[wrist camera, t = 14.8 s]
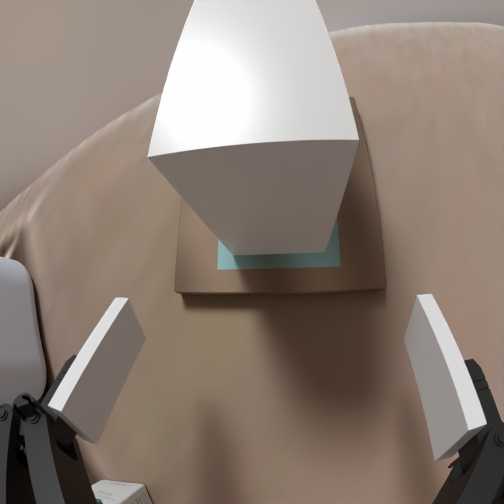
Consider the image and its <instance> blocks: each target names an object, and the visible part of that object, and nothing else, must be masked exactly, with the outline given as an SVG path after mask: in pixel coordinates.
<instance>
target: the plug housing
mask: <svg viewBox="0 0 504 504" xmlns="http://www.w3.org/2000/svg"><path fill="white" fill-rule="evenodd" d="M358 142H359V137H358V133H357V128H356V124H355V120H354V116H353V112H352V108H351V104H350V100H349V97H348V93H347V90H346V86H345V83H344V79H343V76H342V73H341V69H340V66H339V63H338V60H337V57H336V54H335V51H334V48H333V45H332V42H331V39H330V37H329V34H328V31H327V29H326V26H325V23H324V20H323V18H322V15H321V13H320V10H319V8H318V5H317V3H316V1H315V0H194V3H193V5H192V8H191V10H190V13H189V15H188V18H187V20H186V23H185V26H184V29H183V31H182V34H181V37H180V40H179V43H178V45H177V48H176V51H175V54H174V58H173V61H172V64H171V67H170V70H169V73H168V77H167V80H166V84H165V87H164V91H163V94H162V98H161V102H160V105H159V109H158V113H157V117H156V121H155V125H154V130H153V134H152V138H151V143H150V148H149V152H148V158H149V159H150V160H151V162H152V163H153V164H154V165H155V166H156V167H157V169H158V170H159V171H160V172H161V173H162V175H163V176H164V177H165V178H166V179H167V180H168V182H169V183H170V184H171V185H172V186H173V187H174V188H175V190H176V191H177V192H178V193H179V194H180V195H181V197H182V198H183V199H184V200H185V201H186V202H187V204H188V205H189V206H190V207H191V208H192V209H193V210H194V212H195V213H196V214H197V215H198V216H199V217H200V219H201V220H202V221H203V222H204V223H205V224H206V225H207V227H208V228H209V229H210V230H211V231H212V232H213V233H214V235H215V236H216V237H217V238H218V239H219V240H220V241H221V242H222V244H223V245H224V246H225V247H226V248H227V249H228V250H229V252H230V253H231V254H232V255H263V254H293V253H323V252H325V251H326V248H327V245H328V242H329V239H330V236H331V233H332V230H333V227H334V224H335V221H336V218H337V214H338V211H339V208H340V205H341V202H342V198H343V195H344V192H345V188H346V185H347V182H348V178H349V175H350V171H351V168H352V164H353V161H354V157H355V153H356V150H357V146H358Z"/></svg>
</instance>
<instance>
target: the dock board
mask: <svg viewBox="0 0 504 504" xmlns="http://www.w3.org/2000/svg"><path fill="white" fill-rule="evenodd" d="M349 100H350V104H351V108H352V112H353V116H354V120H355V124H356V128H357V133H358V137H359V142H358V146H357V150H356V153H355V157H354V161H353V164H352V168H351V171H350V175H349V178H348V182H347V185H346V188H345V192H344V195H343V198H342V202H341V205H340V208H339V211H338V214H337V218H336V221H335V224H334V227H333V230H332V233H331V236H330V239H329V242H328V245H327V248H326V251H325V252H323V253H293V254H263V255H232V254H231V253H230V252H229V250H228V249H227V248H226V247H225V246H224V245H223V244H222V242H221V241H220V240H219V239H218V238H217V237H216V236H215V235H214V233H213V232H212V231H211V230H210V229H209V228H208V227H207V225H206V224H205V223H204V222H203V221H202V220H201V219H200V217H199V216H198V215H197V214H196V213H195V212H194V210H193V209H192V208H191V207H190V206H189V205H188V204H187V202H186V201H185V200H184V199H183V198H182V200H181V210H180V220H179V232H178V244H177V257H176V273H175V292H176V293H179V294H296V293H328V292H352V291H372V290H382V289H384V288H386V277H385V264H384V254H383V244H382V235H381V227H380V220H379V213H378V206H377V199H376V193H375V187H374V182H373V176H372V171H371V166H370V161H369V156H368V151H367V147H366V142H365V138H364V134H363V129H362V125H361V121H360V117H359V114H358V110H357V106H356V103H355V99H354V97H349Z"/></svg>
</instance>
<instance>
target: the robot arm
mask: <svg viewBox="0 0 504 504" xmlns="http://www.w3.org/2000/svg"><path fill="white" fill-rule="evenodd" d="M145 339H146V337H145V335H144V333H143V331H142V329H141V326H140V324H139V322H138V320H137V317H136V315H135V313H134V310H133V308H132V306H131V303H130V301H129V298H115V300H114V301H113V302H112V304H111V305H110V307H109V308H108V310H107V311H106V313H105V314H104V315H103V317H102V318H101V320H100V321H99V323H98V324H97V326H96V327H95V329H94V330H93V332H92V333H91V335H90V336H89V338H88V340H87V341H86V343H85V344H84V346H83V347H82V349H81V350H80V352H79V354H78V355H73V356H72V357H71V358H70V359H69V360H68V361H66V363H65V364H64V366H63V367H62V369H61V372H59V374H58V376H57V377H56V378H57V379H55V381H54V382H53V384H52V386H51V387H50V389H49V391H48V392H47V394H46V396H45V398H44V399H43V401H42V403H41V404H39V403H38V402H37V401H36V400H35V399H34V398H33V397H32V396H31V395H30V394H29V393H22V394H20V395H18V396H17V397H16V398H15V399H14V401H13V403H12V407H11V406H10V405H9V404H6V403H4V404H1V405H0V504H98V503H97V500H96V498H95V495H94V492H93V490H92V487H91V484H90V481H89V478H88V475H87V472H86V469H85V466H84V463H83V459H82V456H81V452H80V449H79V445H78V442H77V440H76V438H75V436H76V434H78V435H79V436H80V437H81V438H82V439H83V440H86V441H88V442H91V443H93V444H96V445H97V443H98V441H99V439H100V436H101V434H102V432H103V429H104V427H105V425H106V422H107V420H108V418H109V416H110V413H111V411H112V409H113V407H114V404H115V402H116V400H117V398H118V396H119V394H120V391H121V389H122V387H123V385H124V383H125V381H126V379H127V376H128V374H129V372H130V370H131V368H132V366H133V364H134V362H135V360H136V358H137V356H138V354H139V352H140V350H141V347H142V345H143V343H144V341H145ZM403 340H404V343H405V346H406V349H407V352H408V355H409V359H410V362H411V365H412V368H413V372H414V375H415V379H416V382H417V386H418V390H419V393H420V397H421V401H422V405H423V409H424V413H425V418H426V422H427V426H428V431H429V436H430V441H431V446H432V451H433V456H434V462H435V461H439V460H442V459H446V458H449V457H452V456H453V455H454V454H455V453H456V452H459V457H458V458H457V459H456V460H455V461H453V462H452V463H451V464H450V465H449V467H448V468H451V467H453V466H454V467H453V469H452V470H451V472H450V474H449V476H448V478H447V480H446V481H445V483H444V485H443V487H442V488H441V490H440V492H439V493H438V495H437V497H436V498H435V500H434V501H433V503H432V504H504V423H503V422H502V420H501V418H500V416H499V413H498V410H497V407H496V404H495V401H494V399H493V396H492V394H491V391H490V389H489V388H488V387H489V386H488V383H487V381H486V380H485V376H484V374H483V371H482V369H481V367H480V366H479V365H478V364H477V363H476V362H475V361H474V360H473V359H470V360H465V361H464V360H463V358H462V355H461V353H460V351H459V349H458V346H457V344H456V342H455V340H454V338H453V335H452V333H451V331H450V329H449V327H448V325H447V323H446V321H445V319H444V317H443V315H442V313H441V311H440V309H439V307H438V305H437V303H436V301H435V299H434V298H433V296H432V294H424V295H417V296H416V300H415V303H414V307H413V310H412V313H411V317H410V320H409V323H408V326H407V329H406V332H405V335H404V338H403ZM16 442H18V443H19V444H20V445H21V447H20V449H18V448H17V447H16Z"/></svg>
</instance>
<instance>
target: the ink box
mask: <svg viewBox="0 0 504 504" xmlns="http://www.w3.org/2000/svg"><path fill="white" fill-rule="evenodd" d="M91 487H92V490H93V492H94V495H95V498H96V500H97V503H98V504H152V502H151V499H150V497H149V495H148V492H147V490H146V487H145V485H144V484H136V483H126V482H117V481H110V480H101V481H99V482H97V483H96V484H94V485H92V486H91Z"/></svg>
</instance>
